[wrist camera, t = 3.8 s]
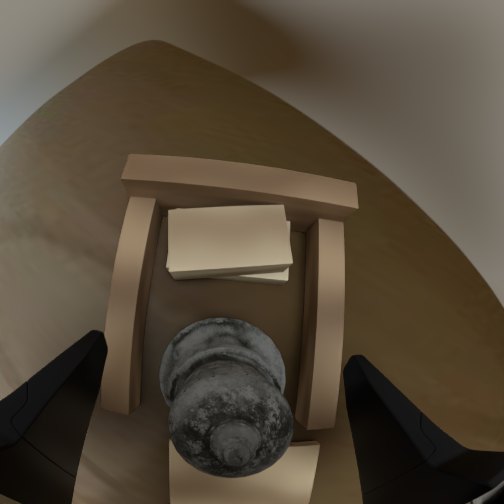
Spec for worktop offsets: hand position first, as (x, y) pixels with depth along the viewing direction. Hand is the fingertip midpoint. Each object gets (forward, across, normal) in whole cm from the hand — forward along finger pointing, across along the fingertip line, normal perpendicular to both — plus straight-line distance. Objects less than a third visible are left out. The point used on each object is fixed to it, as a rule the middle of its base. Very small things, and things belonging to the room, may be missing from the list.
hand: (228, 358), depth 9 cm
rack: (+6, 0, +3) cm, 7 cm away
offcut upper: (+8, 0, 0) cm, 8 cm away
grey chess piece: (+4, 0, +6) cm, 7 cm away
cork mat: (-3, -2, +12) cm, 13 cm away
